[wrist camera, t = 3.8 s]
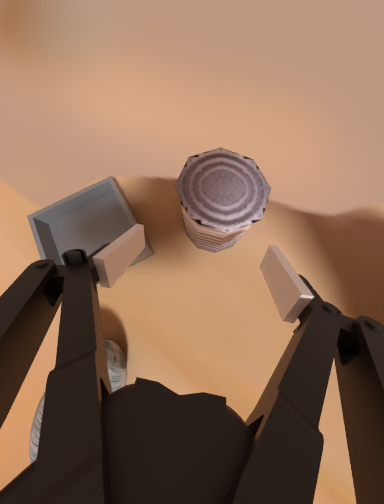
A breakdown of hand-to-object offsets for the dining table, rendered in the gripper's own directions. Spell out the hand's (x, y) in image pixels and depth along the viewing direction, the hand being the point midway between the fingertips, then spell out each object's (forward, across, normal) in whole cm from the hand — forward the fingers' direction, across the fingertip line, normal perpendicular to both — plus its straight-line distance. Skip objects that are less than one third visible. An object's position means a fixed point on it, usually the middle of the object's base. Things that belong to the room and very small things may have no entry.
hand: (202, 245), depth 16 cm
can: (+14, +1, -3) cm, 15 cm away
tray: (+10, -20, -8) cm, 24 cm away
